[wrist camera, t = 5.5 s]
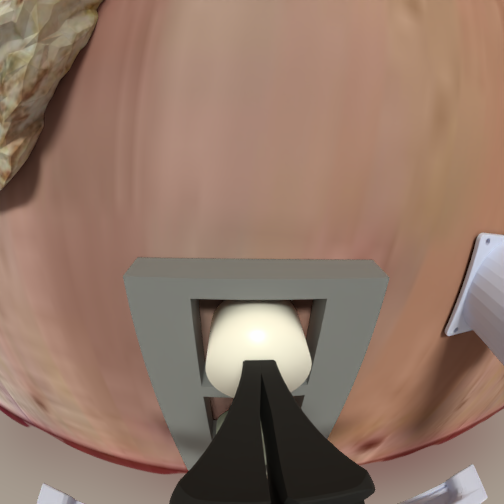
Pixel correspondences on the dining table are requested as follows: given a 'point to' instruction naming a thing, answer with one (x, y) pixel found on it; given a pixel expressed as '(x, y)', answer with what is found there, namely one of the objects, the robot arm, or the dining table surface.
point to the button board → (249, 288)
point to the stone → (35, 67)
